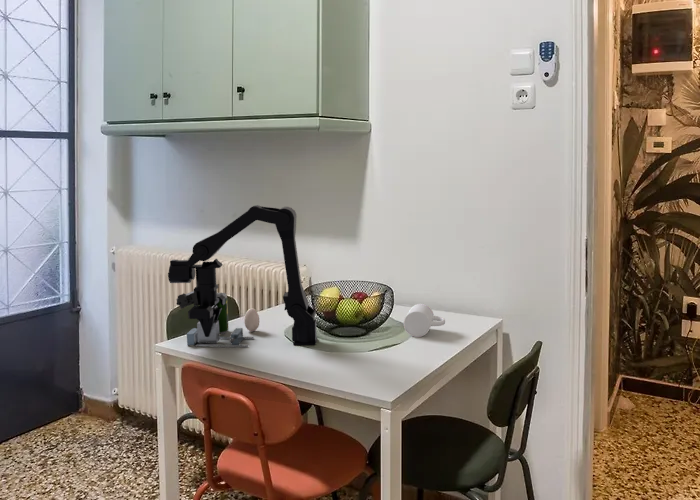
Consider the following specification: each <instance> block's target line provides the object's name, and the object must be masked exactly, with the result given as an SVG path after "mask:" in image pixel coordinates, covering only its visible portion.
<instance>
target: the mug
mask: <svg viewBox="0 0 700 500" xmlns="http://www.w3.org/2000/svg"><path fill="white" fill-rule="evenodd" d="M445 324H446V319H445V318H443V317H441V316H438V315H434V312H433V310H432V308H431V307H430V306H429V305H427V304H424V303H416V304H414V305H413V306H412V307H411V308H410V309H409V311H408V312H407V314H406V316H405V317H404V320H403V327H404V331H405V332H406V333H407V334H408V335H409V336H411V337H414V338H421V337H424V336H425V335H426V334H428V332H429V330H430V329H431V327H441V326H444V325H445Z"/></svg>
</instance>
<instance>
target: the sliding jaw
mask: <svg viewBox="0 0 700 500" xmlns="http://www.w3.org/2000/svg"><path fill="white" fill-rule="evenodd" d="M243 330H244V329H243V327H242V328H241V327H240V328H238V327H237V328H235V329H233V331H232V332H231V333H230V336H229V337H231V339H229V342H230V345H241V342H242V341H243V340H244V339H243V337H244V331H243Z"/></svg>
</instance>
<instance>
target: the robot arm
mask: <svg viewBox="0 0 700 500" xmlns="http://www.w3.org/2000/svg"><path fill="white" fill-rule="evenodd" d="M256 221H260V222H264V223H268V224H273V225H275V229H276V230H277V233H278V236H279V238H280V240H281V247H282V253H283V261H284V268H285V275H286V281H287V291H286V292H284V294H283V296H282V298H283V303H284V311H286V313H287V315H288V317H290V318H291V319H292V320H293V325H292V327H291V340H292V345H294V346H315V345H317V341H318V336H317V320H316V319H315V316H316V313H317V311H316V310H315V309H314V308H313V307H312V306H311V305H309V300H308V297H307V294H306V292H305V289H304V287H303V284H302V277H301V272H300V271H301V270H300V264H299V257H298V250H297V241H296V232H297V231H296V230H297V213H296V210H294V209H293V208H292V207H290V206H283V207H281V208H277V207H270V206H269V207H268V206H262V205H261V206H260V205H259V204H257V205H253V206H251V207H250V208H249V209H248V210H247V211H245V212H244V213H243V214H241V215H240V216H239V217H237V218H236V219H234V220H232V222H230V223H229V224H227V225H226V226H225V227H223V228H222V229H220V230H219V231H217V232H215V233H213V234H211V235H209V236H207V237H205V238H203V239H201V240H200V241H197V242H196V243H195V244H194V245H193V247H192V254H191V255H190V256H189V257H188V259H170V261H169V267H168V273H167V276H168V277H167V278H168V282H169V284H191V283H192V280H195V287H194V288H193V291H190V292H186V293H184V292H183V293H182V294H178V295H177V298H176V299H175V300H176V305H177V306H179V308H180V310H181V309H182V310H183V309H185V308H186V307H188V306H191V305H193V307H191V308H190V309H189V310H188V312H187V318H188V319H189V320H190V319H191V320H197V321H198V322H199V321H200V324H201V326H202V329H203V332H204V335H205V337H209V335H210V332H211V329H212V325H213V322H214V320H218V317H219V314H220V312H221V310H222V307H217V305H216V304H217V303H218V302H219V300H221V305H224V304H225V297H224V296H223V295H217V293H218V289H219V283H218V284H217V270H216V269H221V268H222V266H223V263H222V262H221V261H219V259H218V258H215V259H214V260H213V261H209V259H212V258H213V257H214V256H215V255H216V254H217V253H218V252H219V251H220V250H221V249H222V247H224V245H225V244H226V243H227V242H228V241H229V240H230V239H232V238H234V237H235V236H236V235H238V234H240V232H242V231H243V230H245V229H246V228H247V227H249V226H250V225H252V224H254V222H256ZM199 262H202V263H201V264H197V263H199Z"/></svg>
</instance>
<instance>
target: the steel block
mask: <svg viewBox="0 0 700 500" xmlns="http://www.w3.org/2000/svg"><path fill="white" fill-rule="evenodd" d="M196 327H197V332H198V342H197V344H218V342H220V340H221V339H220V337H221V336H220V335H221V334H219V320H214V322H213V325H212V329H211V332H210V335H209V337H205V335H204V332H203V329H202V326H201V324H200V321H199V320H198V322H197V323H196Z"/></svg>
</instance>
